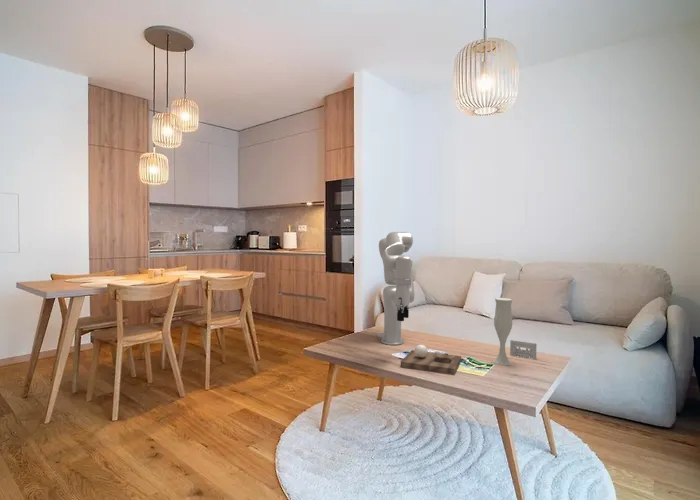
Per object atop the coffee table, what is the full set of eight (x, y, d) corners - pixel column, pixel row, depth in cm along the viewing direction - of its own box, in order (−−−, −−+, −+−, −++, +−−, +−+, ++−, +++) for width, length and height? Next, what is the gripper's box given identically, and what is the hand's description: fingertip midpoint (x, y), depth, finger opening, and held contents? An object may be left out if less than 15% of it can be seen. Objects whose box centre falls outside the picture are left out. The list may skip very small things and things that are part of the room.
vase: (488, 360, 189) (489, 298, 188) (502, 358, 193) (503, 297, 192) (502, 366, 181) (503, 301, 180) (516, 363, 185) (517, 300, 184)
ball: (413, 358, 184) (413, 345, 183) (416, 354, 189) (416, 342, 189) (425, 360, 181) (426, 347, 181) (428, 356, 187) (428, 343, 187)
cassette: (509, 355, 198) (510, 340, 198) (510, 354, 199) (510, 339, 199) (535, 359, 191) (536, 344, 191) (536, 358, 193) (536, 343, 192)
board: (400, 367, 179) (400, 361, 179) (411, 355, 197) (411, 350, 197) (454, 374, 169) (454, 368, 169) (461, 361, 188) (461, 356, 188)
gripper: (400, 280, 197) (400, 315, 198) (390, 283, 181) (389, 322, 182) (415, 280, 194) (415, 316, 195) (406, 284, 178) (405, 323, 179)
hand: (402, 319), depth 188 cm, fingers open, 7 cm apart
